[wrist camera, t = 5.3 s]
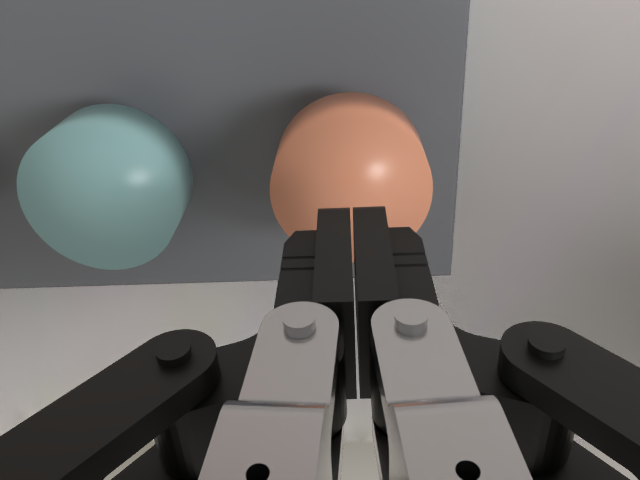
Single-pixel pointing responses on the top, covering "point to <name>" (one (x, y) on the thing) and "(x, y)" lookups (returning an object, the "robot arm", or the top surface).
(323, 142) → the terracotta button
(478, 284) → the top surface
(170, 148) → the teal button
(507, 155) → the top surface
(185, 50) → the console
